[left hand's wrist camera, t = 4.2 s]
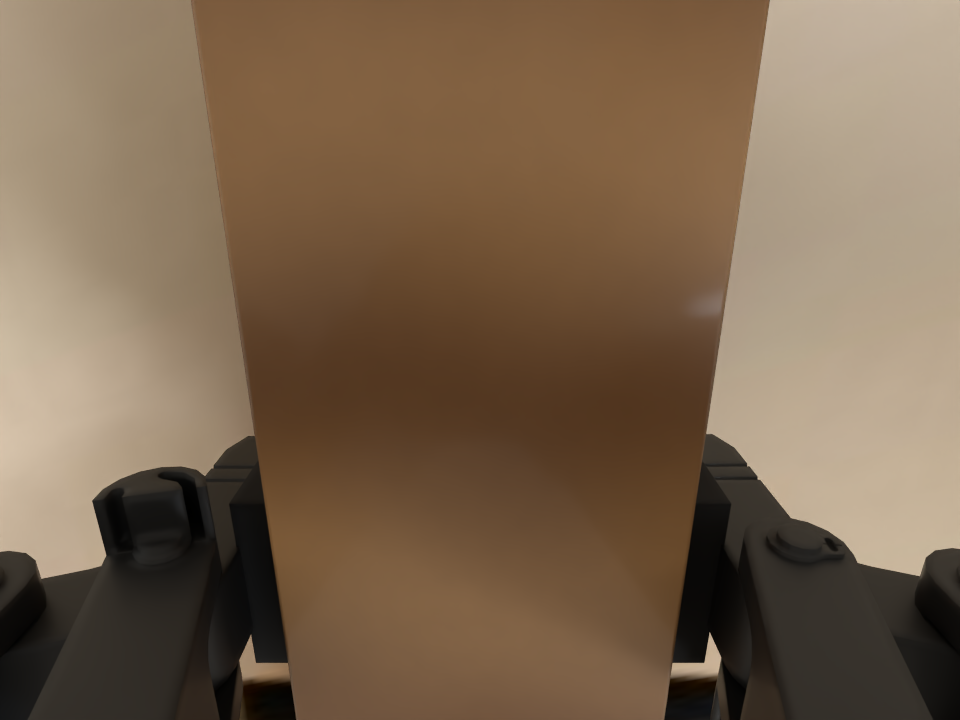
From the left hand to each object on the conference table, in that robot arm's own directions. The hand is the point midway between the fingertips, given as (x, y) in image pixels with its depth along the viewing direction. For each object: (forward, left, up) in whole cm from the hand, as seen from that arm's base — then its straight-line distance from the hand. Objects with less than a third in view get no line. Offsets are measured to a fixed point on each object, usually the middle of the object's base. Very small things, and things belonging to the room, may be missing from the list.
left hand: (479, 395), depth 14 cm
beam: (+25, +18, -1) cm, 31 cm away
